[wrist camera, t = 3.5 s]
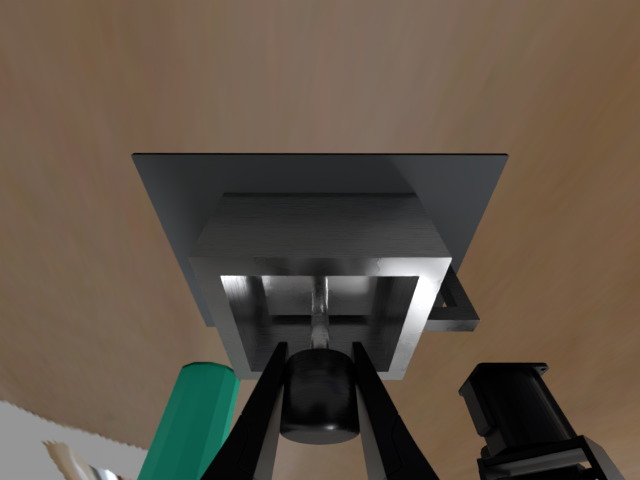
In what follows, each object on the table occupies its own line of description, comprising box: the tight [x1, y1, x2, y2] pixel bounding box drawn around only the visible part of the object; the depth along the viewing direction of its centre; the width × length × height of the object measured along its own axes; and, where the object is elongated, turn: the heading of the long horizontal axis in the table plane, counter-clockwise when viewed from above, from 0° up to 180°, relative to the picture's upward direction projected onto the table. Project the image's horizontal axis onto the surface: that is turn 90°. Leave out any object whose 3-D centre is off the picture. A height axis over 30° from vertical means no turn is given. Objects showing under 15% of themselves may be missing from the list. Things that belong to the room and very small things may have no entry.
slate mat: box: [131, 153, 509, 327], centre depth 18 cm, size 18×14×1 cm
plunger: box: [262, 276, 378, 445], centre depth 13 cm, size 7×7×8 cm
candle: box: [137, 362, 241, 480], centre depth 23 cm, size 6×6×12 cm
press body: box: [188, 193, 480, 380], centre depth 15 cm, size 13×10×5 cm
